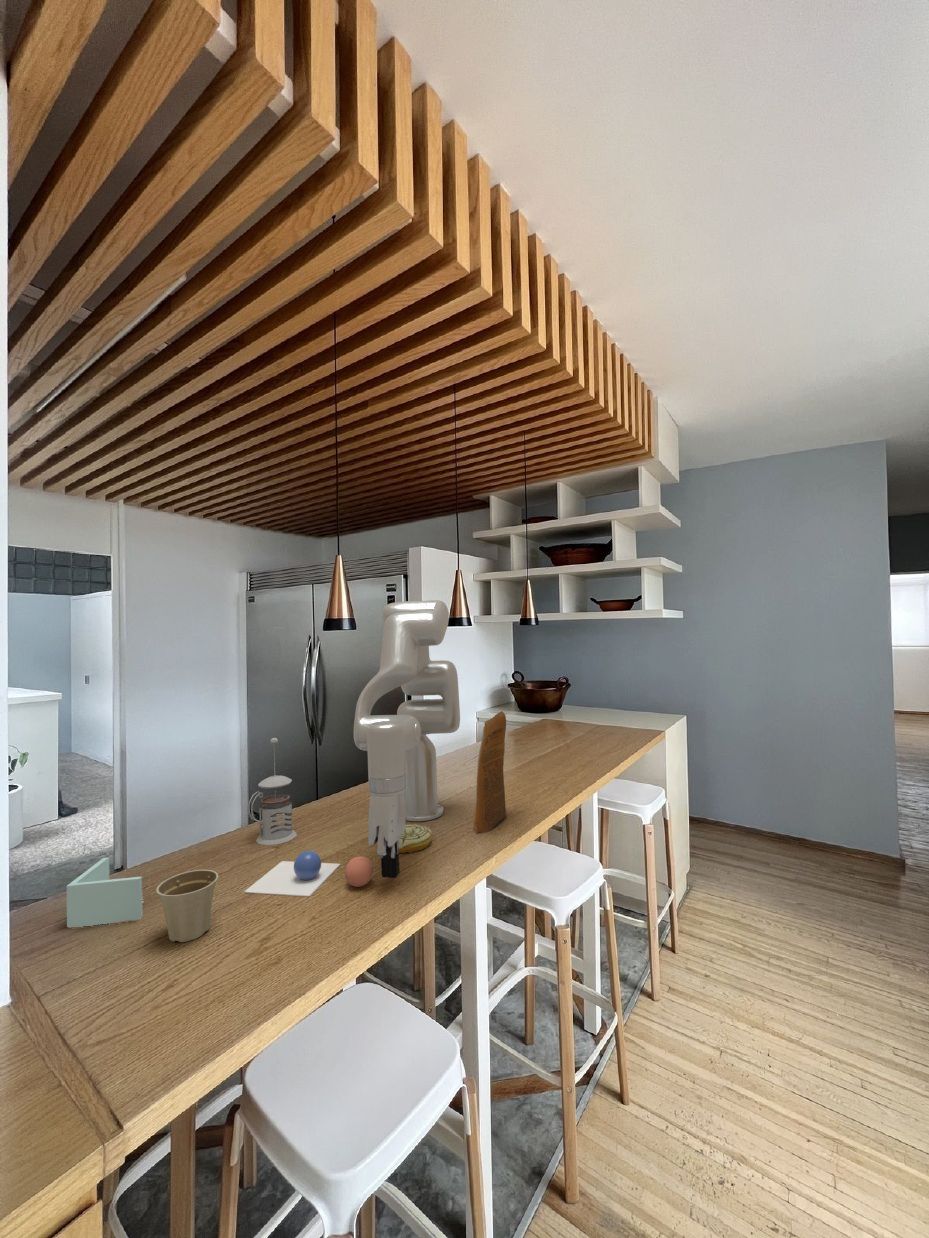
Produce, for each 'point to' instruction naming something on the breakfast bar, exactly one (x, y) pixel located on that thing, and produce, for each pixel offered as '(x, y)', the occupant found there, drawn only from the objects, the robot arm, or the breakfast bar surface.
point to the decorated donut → (414, 838)
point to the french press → (274, 811)
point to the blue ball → (307, 865)
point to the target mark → (290, 881)
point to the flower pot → (188, 903)
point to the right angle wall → (103, 898)
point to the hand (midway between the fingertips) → (390, 875)
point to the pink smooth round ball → (359, 871)
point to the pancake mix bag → (491, 776)
